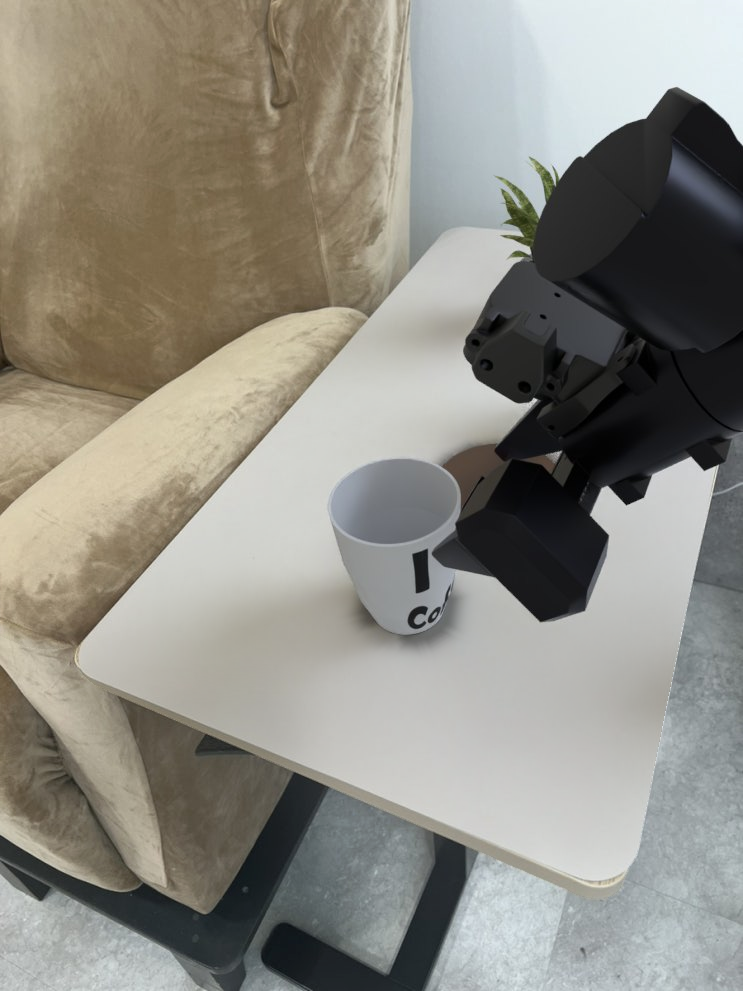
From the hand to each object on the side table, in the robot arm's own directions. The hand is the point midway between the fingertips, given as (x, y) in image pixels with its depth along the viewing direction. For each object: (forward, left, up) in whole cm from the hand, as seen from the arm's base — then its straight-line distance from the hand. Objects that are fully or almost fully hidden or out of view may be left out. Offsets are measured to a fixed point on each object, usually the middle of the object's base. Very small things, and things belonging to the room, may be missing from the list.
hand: (470, 503), depth 43 cm
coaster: (0, -14, -11) cm, 18 cm away
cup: (+5, -1, -12) cm, 13 cm away
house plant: (-4, -41, -12) cm, 43 cm away
